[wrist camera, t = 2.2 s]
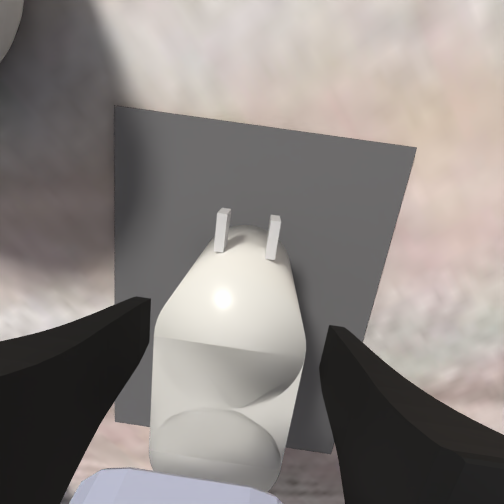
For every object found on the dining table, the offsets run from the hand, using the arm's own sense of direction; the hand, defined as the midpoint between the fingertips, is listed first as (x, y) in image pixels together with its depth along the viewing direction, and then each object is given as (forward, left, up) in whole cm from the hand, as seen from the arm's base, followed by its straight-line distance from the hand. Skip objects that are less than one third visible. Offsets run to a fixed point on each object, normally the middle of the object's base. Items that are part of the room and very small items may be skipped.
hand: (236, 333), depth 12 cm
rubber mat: (0, 0, -3) cm, 3 cm away
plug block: (0, 0, -2) cm, 2 cm away
